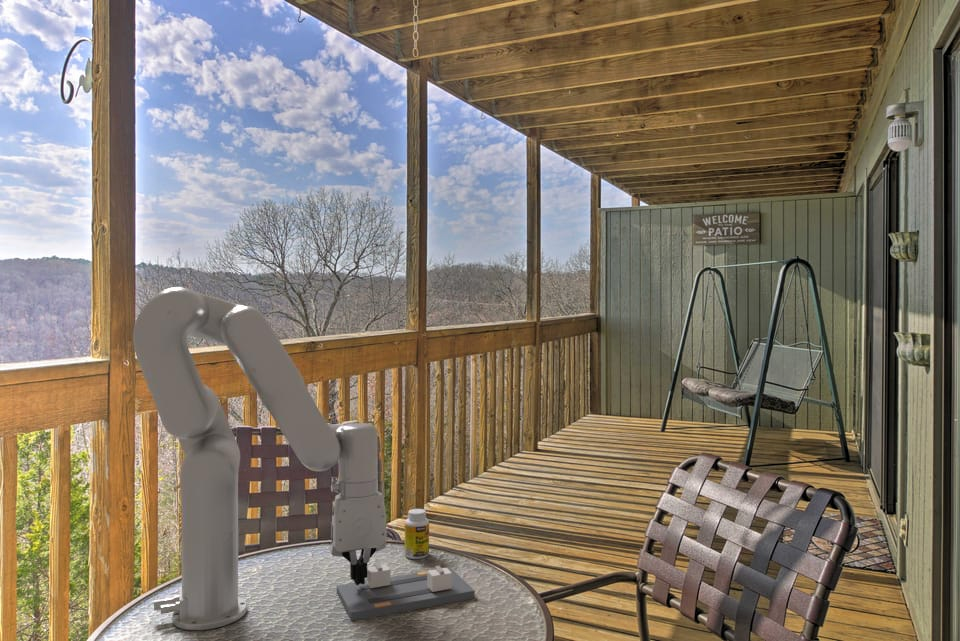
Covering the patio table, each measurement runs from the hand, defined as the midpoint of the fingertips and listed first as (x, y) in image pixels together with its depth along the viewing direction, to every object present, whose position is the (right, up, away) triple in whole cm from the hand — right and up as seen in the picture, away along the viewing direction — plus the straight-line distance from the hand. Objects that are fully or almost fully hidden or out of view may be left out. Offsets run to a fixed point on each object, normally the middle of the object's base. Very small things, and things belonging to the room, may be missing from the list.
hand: (358, 581), depth 127 cm
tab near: (+16, -1, 0) cm, 16 cm away
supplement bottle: (+9, -3, +22) cm, 24 cm away
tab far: (+4, -1, +2) cm, 4 cm away
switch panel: (+9, -3, 0) cm, 9 cm away
